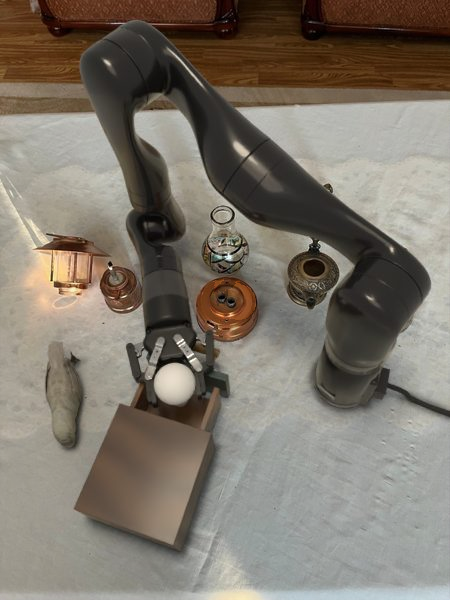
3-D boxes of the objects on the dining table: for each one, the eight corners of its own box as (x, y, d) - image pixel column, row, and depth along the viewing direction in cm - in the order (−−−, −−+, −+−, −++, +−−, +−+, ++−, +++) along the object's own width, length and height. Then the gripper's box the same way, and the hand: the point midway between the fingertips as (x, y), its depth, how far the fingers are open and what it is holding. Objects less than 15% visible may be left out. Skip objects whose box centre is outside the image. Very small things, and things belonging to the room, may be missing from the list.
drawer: (166, 344, 92) (160, 324, 86) (239, 365, 90) (238, 346, 83) (122, 450, 83) (110, 437, 77) (201, 477, 81) (197, 466, 74)
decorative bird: (54, 452, 84) (38, 439, 78) (52, 361, 92) (37, 343, 86) (88, 445, 85) (75, 432, 78) (82, 356, 93) (70, 337, 86)
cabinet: (131, 422, 86) (119, 403, 78) (215, 449, 84) (212, 432, 75) (91, 518, 79) (73, 509, 71) (181, 551, 77) (173, 545, 68)
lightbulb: (207, 403, 84) (202, 379, 74) (176, 427, 82) (167, 405, 72) (184, 375, 86) (176, 348, 76) (154, 398, 84) (142, 373, 75)
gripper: (116, 300, 82) (124, 402, 74) (207, 285, 82) (225, 385, 74) (126, 321, 88) (134, 418, 80) (210, 308, 89) (227, 402, 81)
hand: (178, 402), depth 77 cm, fingers closed on lightbulb, 6 cm apart
